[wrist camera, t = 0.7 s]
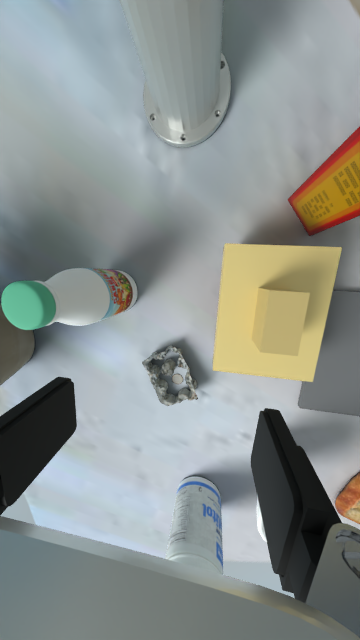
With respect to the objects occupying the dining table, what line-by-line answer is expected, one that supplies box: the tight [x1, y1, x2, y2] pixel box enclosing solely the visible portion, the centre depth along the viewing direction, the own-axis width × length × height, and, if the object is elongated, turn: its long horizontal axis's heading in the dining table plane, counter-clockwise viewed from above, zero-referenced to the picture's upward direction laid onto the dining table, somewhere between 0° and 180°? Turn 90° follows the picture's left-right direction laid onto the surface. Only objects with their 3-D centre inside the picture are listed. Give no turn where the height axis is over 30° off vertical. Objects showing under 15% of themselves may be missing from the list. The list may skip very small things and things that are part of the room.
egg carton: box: [142, 345, 198, 406], centre depth 37 cm, size 11×8×4 cm
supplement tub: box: [165, 477, 223, 575], centre depth 37 cm, size 10×10×15 cm
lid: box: [213, 244, 342, 382], centre depth 25 cm, size 18×14×8 cm
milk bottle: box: [1, 268, 137, 330], centre depth 28 cm, size 8×8×20 cm
